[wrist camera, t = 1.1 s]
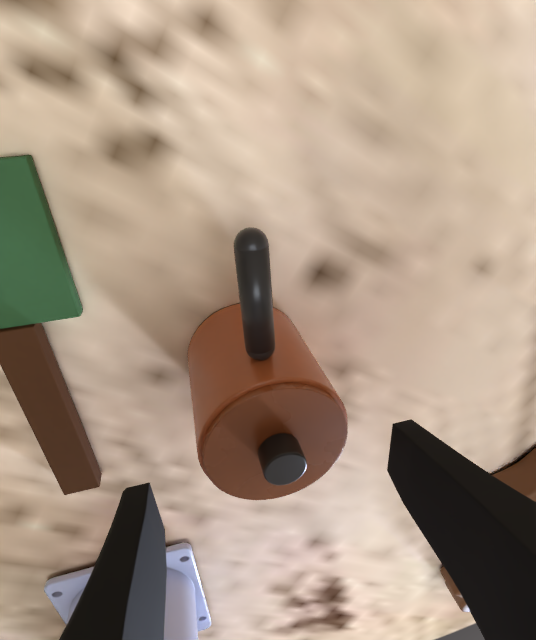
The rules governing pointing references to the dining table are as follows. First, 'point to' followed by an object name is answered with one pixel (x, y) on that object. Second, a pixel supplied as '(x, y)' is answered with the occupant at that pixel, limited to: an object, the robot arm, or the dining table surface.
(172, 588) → the robot arm
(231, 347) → the pot
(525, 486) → the plant
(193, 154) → the dining table surface
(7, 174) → the spatula
